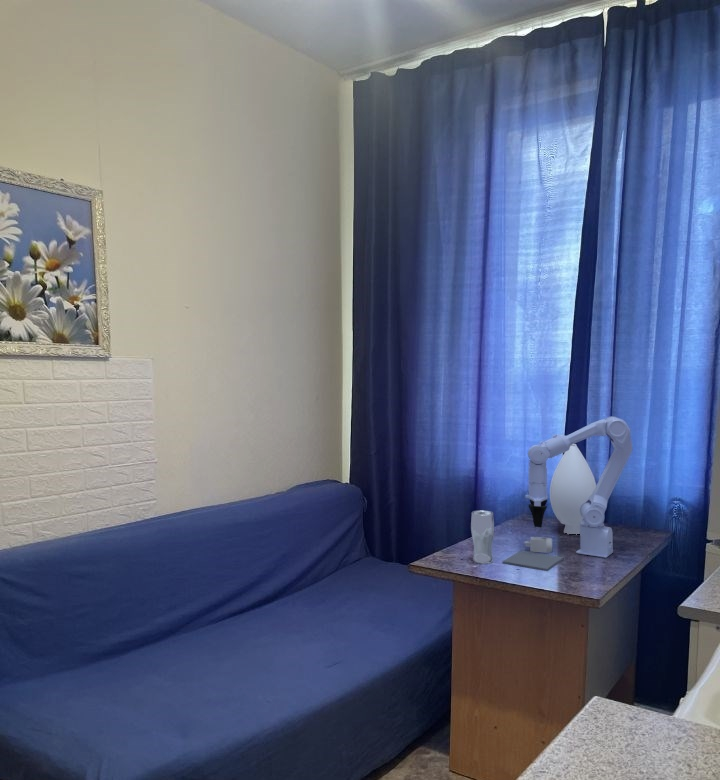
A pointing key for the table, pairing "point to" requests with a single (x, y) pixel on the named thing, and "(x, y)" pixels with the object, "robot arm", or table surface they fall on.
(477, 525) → the beer glass
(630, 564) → the table surface
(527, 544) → the connector
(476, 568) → the table surface
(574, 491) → the lamp
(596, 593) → the table surface
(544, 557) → the mat
